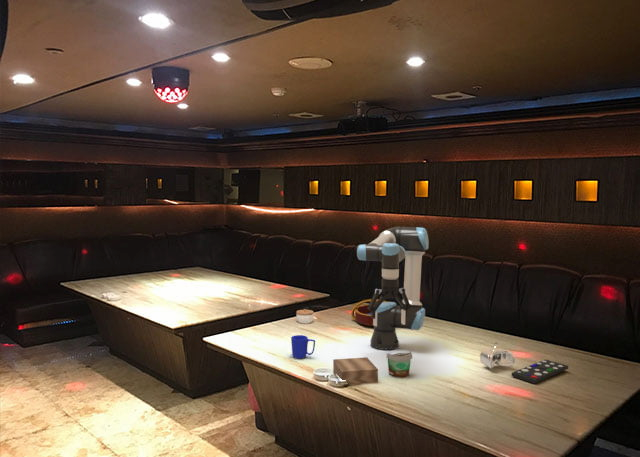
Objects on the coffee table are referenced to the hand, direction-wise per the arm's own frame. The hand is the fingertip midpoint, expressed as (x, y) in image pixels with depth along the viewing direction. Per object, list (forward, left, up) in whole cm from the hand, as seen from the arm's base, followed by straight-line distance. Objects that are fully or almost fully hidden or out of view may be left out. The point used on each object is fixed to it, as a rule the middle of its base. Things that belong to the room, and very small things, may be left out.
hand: (389, 324), depth 225 cm
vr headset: (-54, 0, -23) cm, 59 cm away
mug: (+34, -30, -23) cm, 51 cm away
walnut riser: (+16, +1, -23) cm, 28 cm away
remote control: (-71, +9, -23) cm, 75 cm away
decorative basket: (-23, -88, -23) cm, 94 cm away
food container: (-5, +3, -23) cm, 24 cm away
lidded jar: (+22, -93, -23) cm, 98 cm away
